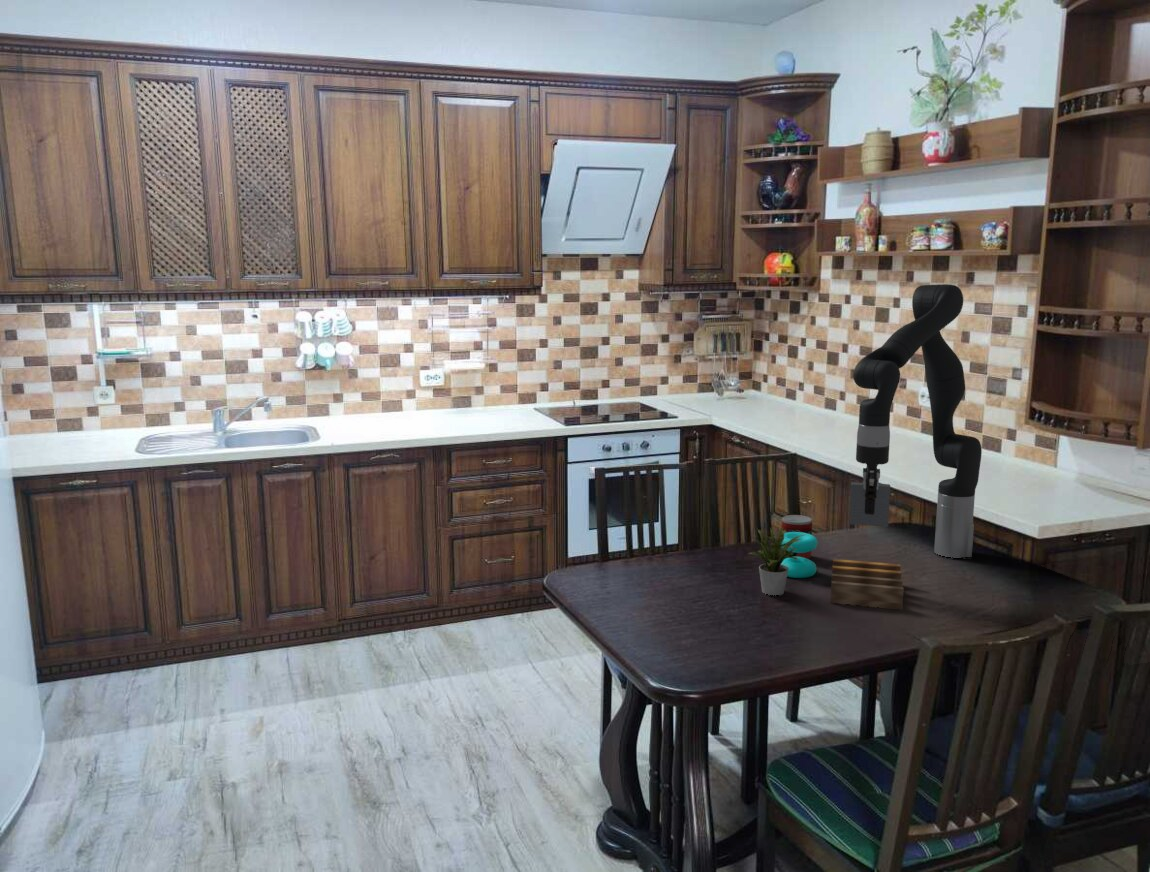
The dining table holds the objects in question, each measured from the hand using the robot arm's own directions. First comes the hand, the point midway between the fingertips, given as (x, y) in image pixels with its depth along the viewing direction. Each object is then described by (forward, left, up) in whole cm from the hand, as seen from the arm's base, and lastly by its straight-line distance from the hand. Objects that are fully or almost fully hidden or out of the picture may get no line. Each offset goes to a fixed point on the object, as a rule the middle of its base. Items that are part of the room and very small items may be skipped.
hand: (869, 511), depth 222 cm
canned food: (+18, -19, -19) cm, 32 cm away
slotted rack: (0, +5, -19) cm, 20 cm away
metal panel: (0, 0, -3) cm, 3 cm away
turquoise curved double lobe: (+17, -6, -19) cm, 26 cm away
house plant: (+21, +11, -19) cm, 31 cm away
